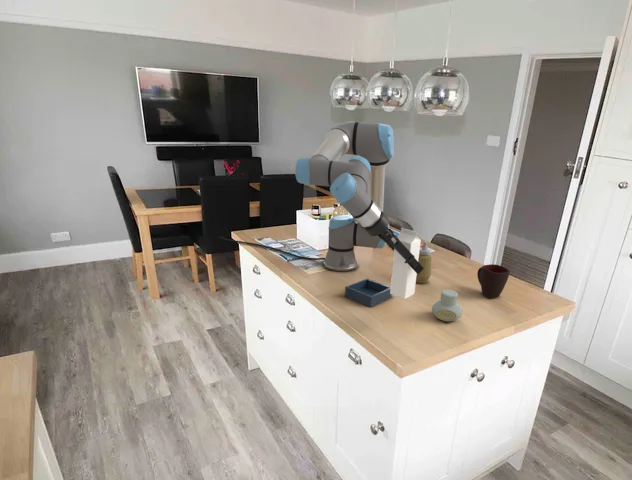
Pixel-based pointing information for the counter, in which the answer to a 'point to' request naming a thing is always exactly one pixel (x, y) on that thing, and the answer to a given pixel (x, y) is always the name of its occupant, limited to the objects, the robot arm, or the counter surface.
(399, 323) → the counter surface
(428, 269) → the squeeze bottle
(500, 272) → the cup
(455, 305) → the air freshener
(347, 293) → the blue square tray
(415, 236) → the milk
